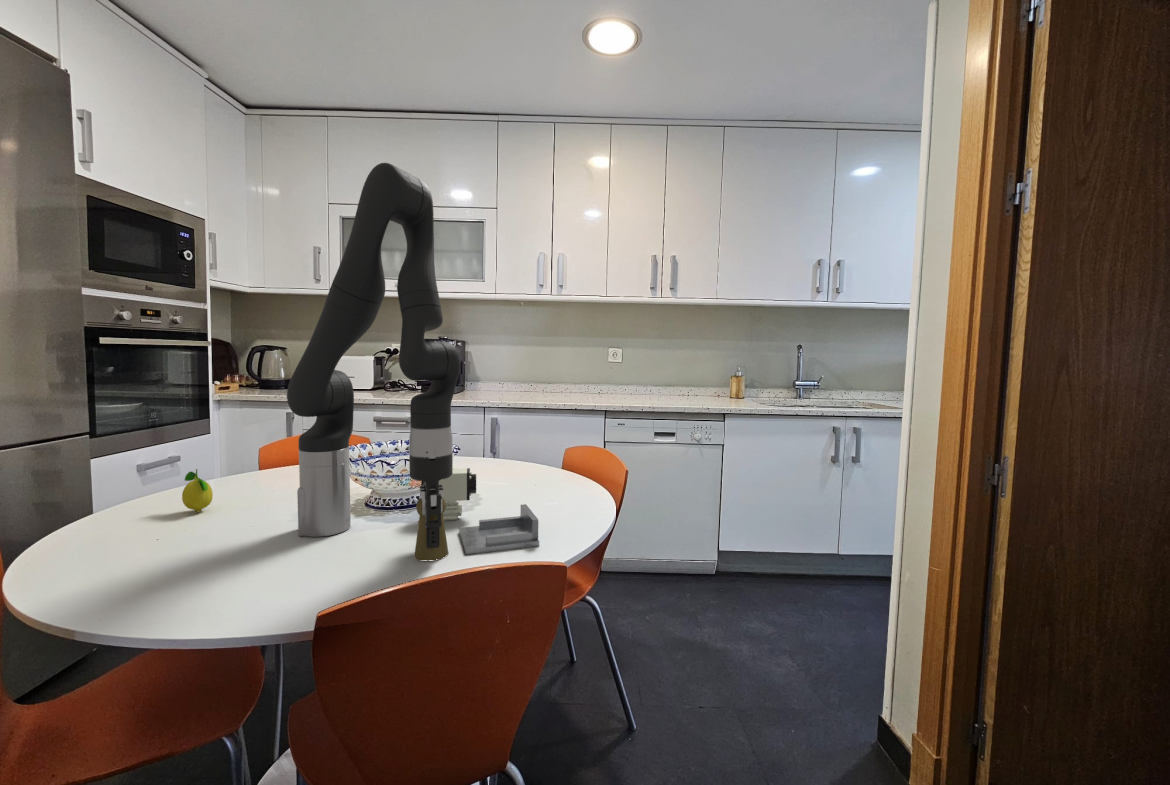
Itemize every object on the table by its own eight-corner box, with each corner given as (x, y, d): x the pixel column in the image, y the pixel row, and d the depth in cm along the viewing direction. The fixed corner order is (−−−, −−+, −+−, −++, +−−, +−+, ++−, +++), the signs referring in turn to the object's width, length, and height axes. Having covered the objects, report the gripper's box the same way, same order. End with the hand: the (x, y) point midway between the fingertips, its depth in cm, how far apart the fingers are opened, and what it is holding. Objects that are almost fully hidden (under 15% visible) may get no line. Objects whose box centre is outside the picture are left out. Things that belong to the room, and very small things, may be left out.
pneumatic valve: (476, 520, 111) (476, 467, 110) (421, 523, 108) (420, 469, 107) (476, 512, 116) (476, 462, 115) (424, 515, 114) (423, 463, 113)
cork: (455, 551, 94) (454, 493, 93) (435, 563, 88) (435, 502, 87) (428, 546, 96) (427, 490, 95) (407, 558, 90) (406, 499, 89)
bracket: (465, 554, 92) (465, 528, 92) (459, 532, 103) (459, 509, 103) (539, 546, 97) (539, 520, 96) (524, 525, 108) (525, 503, 108)
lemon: (185, 509, 115) (184, 466, 114) (216, 506, 117) (215, 464, 117) (176, 518, 109) (174, 473, 108) (209, 514, 111) (207, 471, 111)
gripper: (408, 445, 96) (409, 529, 97) (409, 460, 82) (411, 558, 83) (448, 443, 98) (449, 525, 100) (456, 458, 85) (456, 552, 86)
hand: (431, 540), depth 92 cm, fingers open, 6 cm apart
